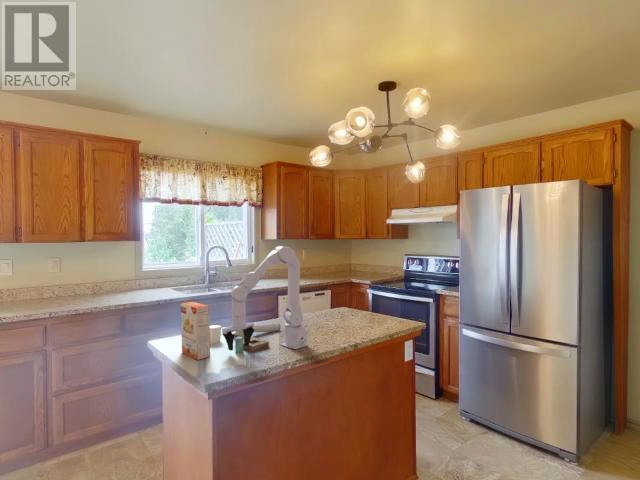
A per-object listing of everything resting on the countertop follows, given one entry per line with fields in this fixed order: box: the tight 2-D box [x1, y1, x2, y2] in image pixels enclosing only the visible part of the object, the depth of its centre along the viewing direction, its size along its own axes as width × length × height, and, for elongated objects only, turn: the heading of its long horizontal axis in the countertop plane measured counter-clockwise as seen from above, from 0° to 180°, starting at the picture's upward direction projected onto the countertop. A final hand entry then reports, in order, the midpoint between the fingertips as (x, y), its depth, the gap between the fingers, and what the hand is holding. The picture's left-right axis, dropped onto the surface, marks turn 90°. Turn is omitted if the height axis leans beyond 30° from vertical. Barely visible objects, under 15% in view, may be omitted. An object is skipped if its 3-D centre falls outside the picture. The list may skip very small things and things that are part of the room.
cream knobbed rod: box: [233, 322, 281, 340], centre depth 180 cm, size 5×7×25 cm
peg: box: [234, 337, 244, 355], centre depth 154 cm, size 3×3×6 cm
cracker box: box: [180, 301, 211, 361], centre depth 150 cm, size 14×6×21 cm, turn 45°
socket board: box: [243, 336, 270, 353], centre depth 161 cm, size 12×9×2 cm
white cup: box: [209, 324, 222, 344], centre depth 170 cm, size 7×7×7 cm
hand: (238, 347), depth 153 cm, fingers open, 7 cm apart
